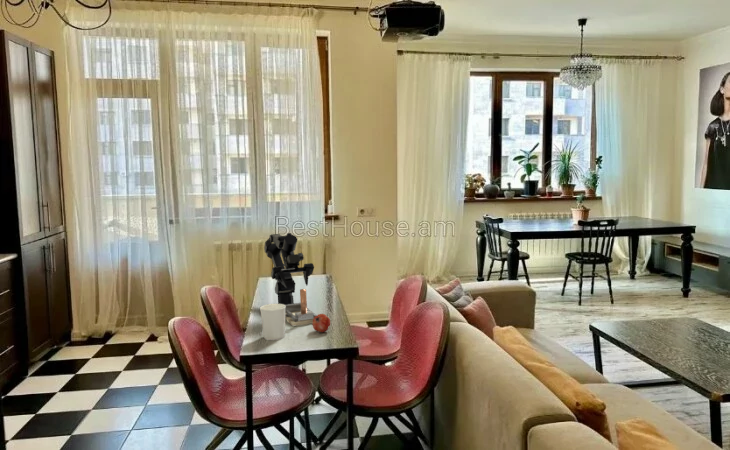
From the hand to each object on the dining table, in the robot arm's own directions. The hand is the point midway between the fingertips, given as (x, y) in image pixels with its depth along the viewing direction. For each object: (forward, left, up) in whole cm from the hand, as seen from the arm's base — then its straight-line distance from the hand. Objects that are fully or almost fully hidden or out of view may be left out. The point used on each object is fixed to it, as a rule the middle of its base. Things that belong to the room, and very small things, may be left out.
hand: (297, 286), depth 223 cm
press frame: (+2, -2, -14) cm, 14 cm away
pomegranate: (+18, -17, -14) cm, 28 cm away
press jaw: (+6, -7, -12) cm, 15 cm away
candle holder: (+2, -27, -14) cm, 30 cm away
